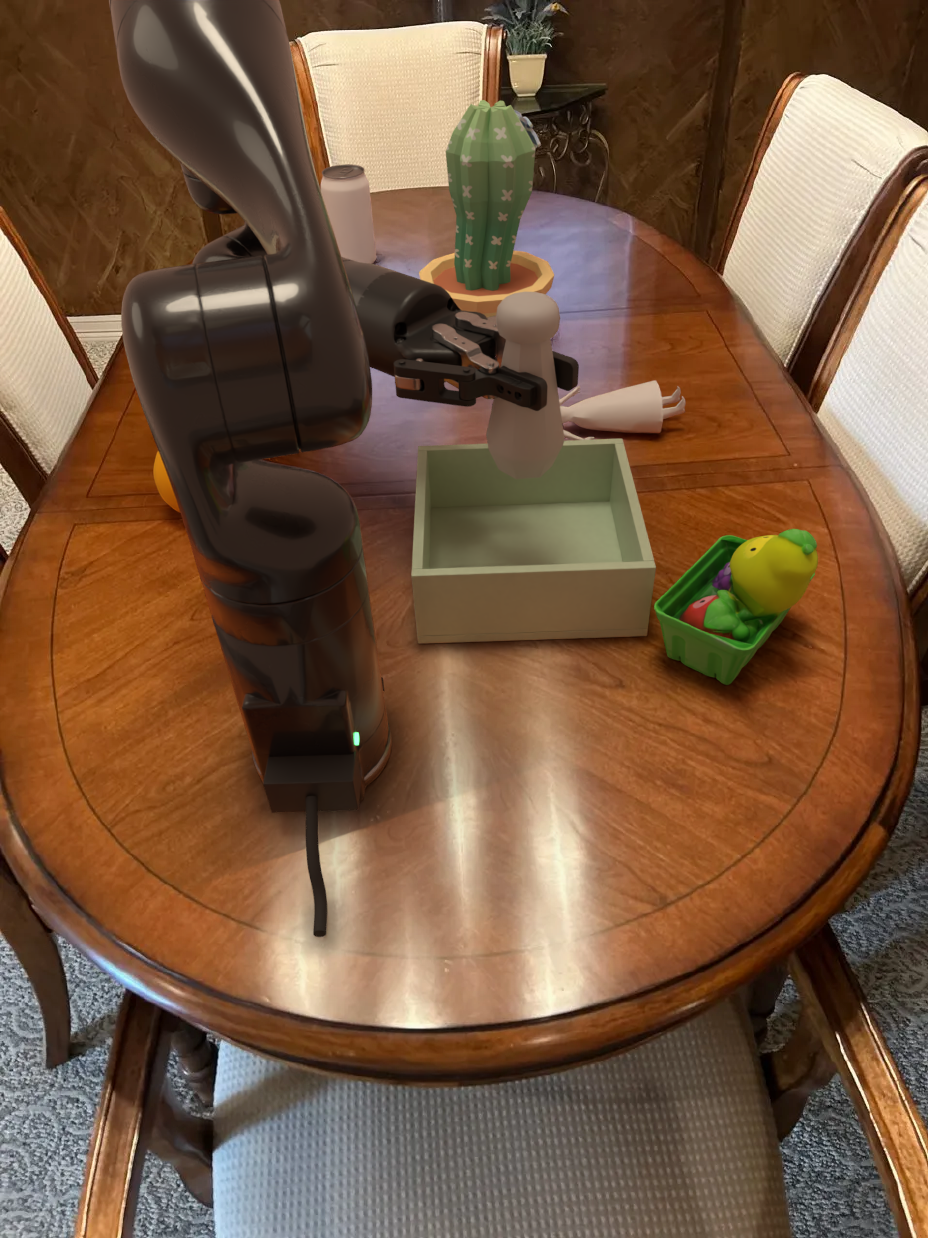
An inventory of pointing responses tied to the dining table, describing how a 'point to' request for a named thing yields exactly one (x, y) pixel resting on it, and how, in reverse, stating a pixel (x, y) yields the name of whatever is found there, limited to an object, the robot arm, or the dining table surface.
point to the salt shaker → (528, 326)
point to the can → (350, 211)
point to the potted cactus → (489, 210)
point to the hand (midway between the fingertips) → (559, 385)
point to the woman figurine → (622, 410)
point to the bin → (529, 547)
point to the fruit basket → (735, 600)
